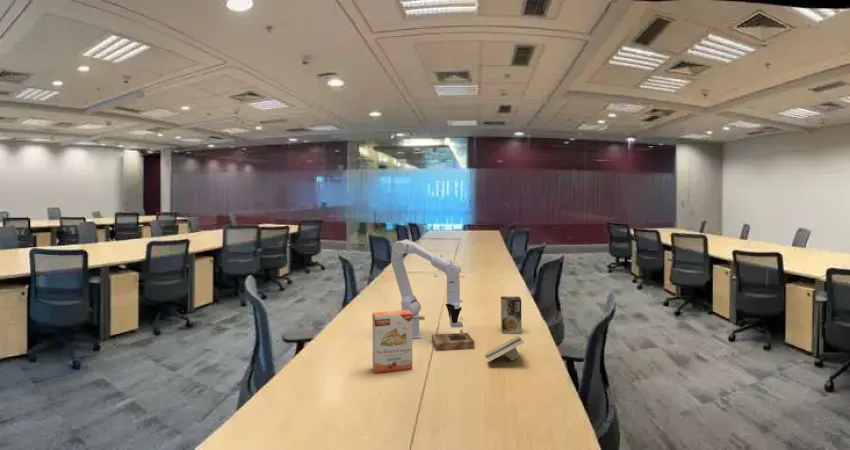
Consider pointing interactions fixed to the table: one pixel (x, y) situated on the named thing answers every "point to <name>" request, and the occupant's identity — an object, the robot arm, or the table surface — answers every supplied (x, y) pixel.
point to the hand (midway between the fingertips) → (453, 321)
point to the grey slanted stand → (506, 349)
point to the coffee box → (511, 315)
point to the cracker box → (392, 341)
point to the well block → (452, 341)
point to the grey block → (458, 324)
